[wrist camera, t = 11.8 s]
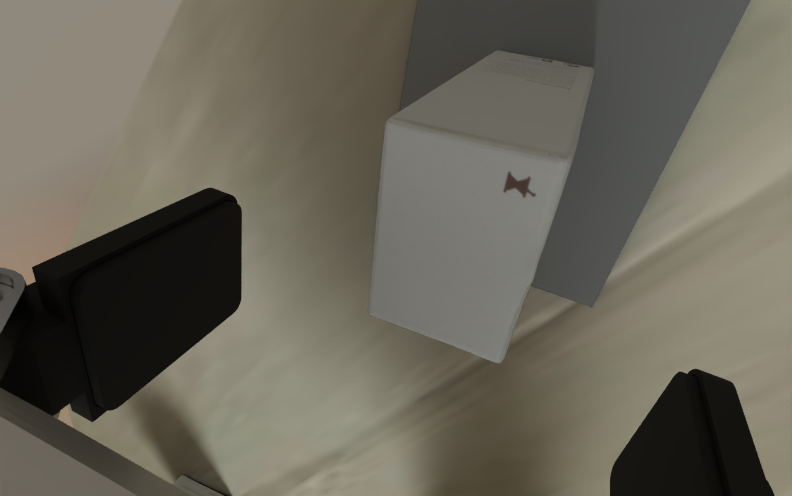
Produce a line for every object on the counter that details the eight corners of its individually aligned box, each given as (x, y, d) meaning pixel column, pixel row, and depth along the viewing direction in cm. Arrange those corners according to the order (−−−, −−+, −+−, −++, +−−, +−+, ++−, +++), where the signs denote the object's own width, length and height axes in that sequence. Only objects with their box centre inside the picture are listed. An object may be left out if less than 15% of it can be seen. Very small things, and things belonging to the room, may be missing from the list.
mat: (592, 302, 24) (592, 307, 24) (382, 227, 27) (379, 231, 27) (779, -65, 15) (784, -66, 15) (441, -118, 18) (437, -120, 18)
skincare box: (493, 47, 20) (381, 108, 10) (597, 66, 19) (581, 155, 9) (465, 178, 23) (361, 318, 13) (552, 200, 22) (506, 371, 12)
